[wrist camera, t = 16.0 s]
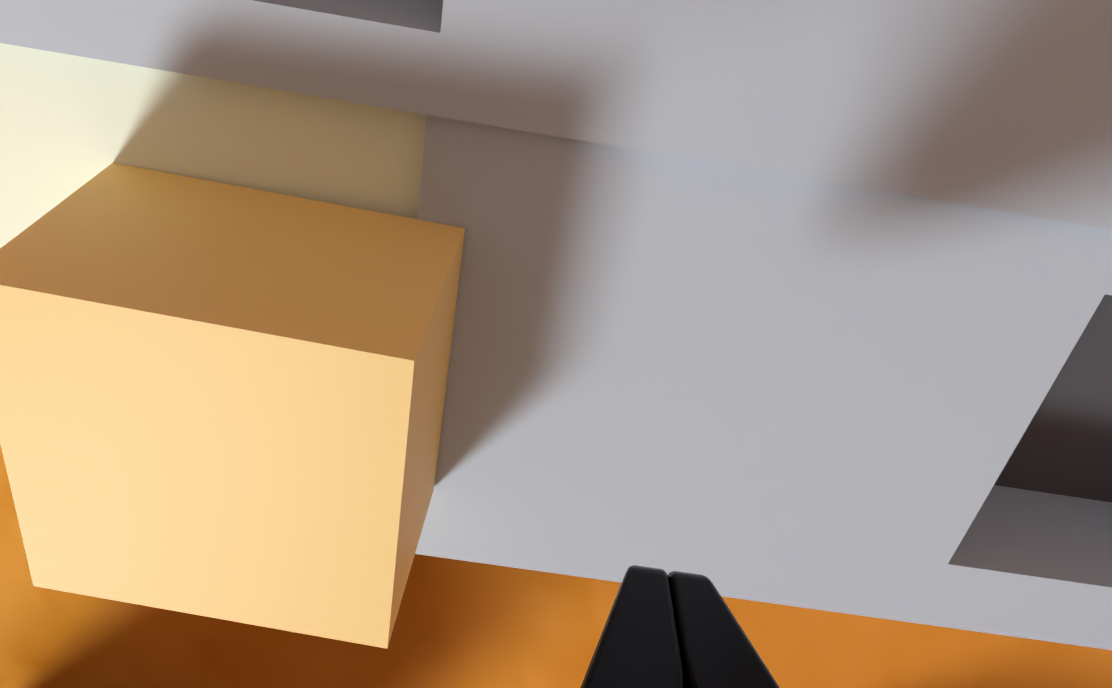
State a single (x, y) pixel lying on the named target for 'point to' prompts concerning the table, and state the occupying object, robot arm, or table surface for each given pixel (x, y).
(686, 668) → the robot arm
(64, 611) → the table surface
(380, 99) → the trap board
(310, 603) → the ochre block
